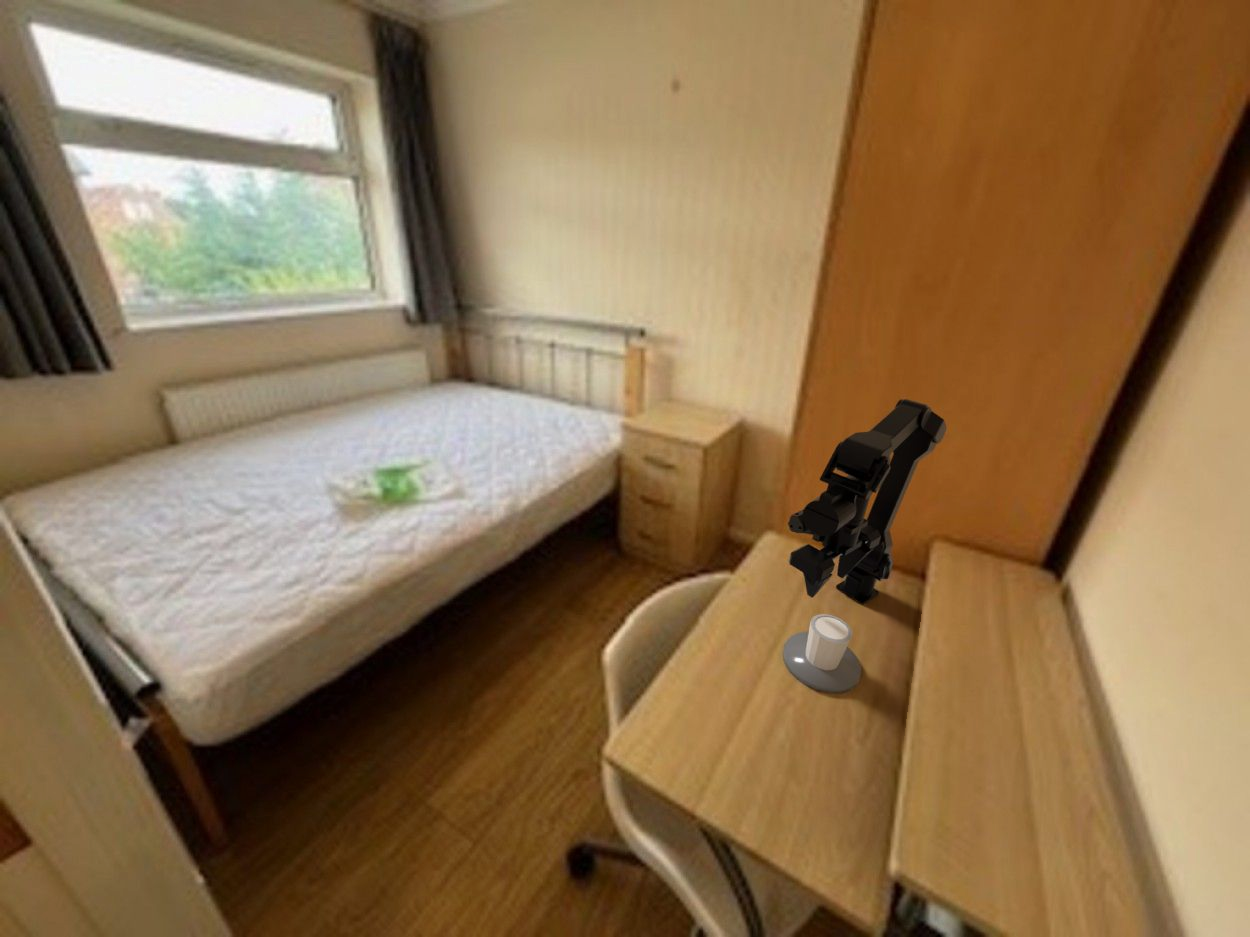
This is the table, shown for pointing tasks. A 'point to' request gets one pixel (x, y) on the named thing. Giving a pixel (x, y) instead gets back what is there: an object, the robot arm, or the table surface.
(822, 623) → the white cup
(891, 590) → the table surface
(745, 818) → the table surface
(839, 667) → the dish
